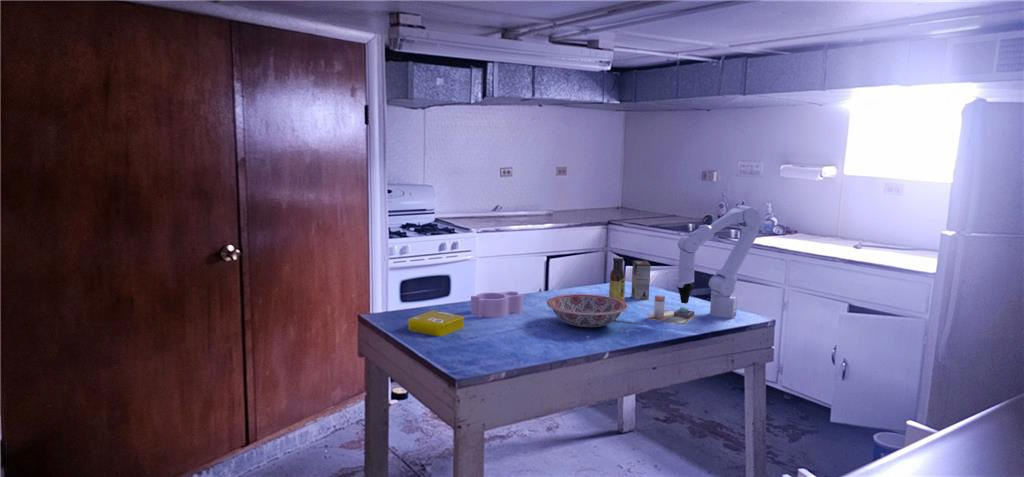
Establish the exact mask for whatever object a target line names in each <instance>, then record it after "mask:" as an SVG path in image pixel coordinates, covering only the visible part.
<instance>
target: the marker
mask: <svg viewBox="0 0 1024 477" xmlns="http://www.w3.org/2000/svg"><path fill="white" fill-rule="evenodd" d="M665 297H666V296H664V295H662V294H661V295H654V306H653V309H654V310H653V313H654V318H664V310H665V302H666V301H665V299H666V298H665Z"/></svg>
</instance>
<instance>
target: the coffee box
mask: <svg viewBox="0 0 1024 477" xmlns="http://www.w3.org/2000/svg"><path fill="white" fill-rule="evenodd" d="M651 267H652V266H651V264H650V262H649V261H648V260H632V273H631V274H632V275H631V292H630V294H631V297H632V298H633V300H639V301H640V300H645V301H649V299H650V283H651V282H650V281H651Z"/></svg>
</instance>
